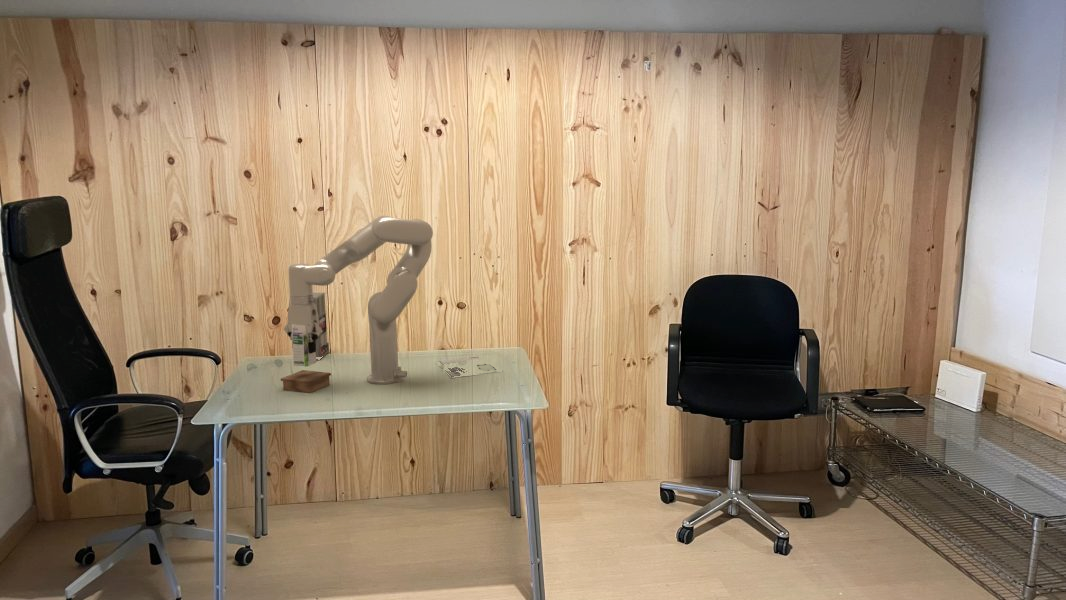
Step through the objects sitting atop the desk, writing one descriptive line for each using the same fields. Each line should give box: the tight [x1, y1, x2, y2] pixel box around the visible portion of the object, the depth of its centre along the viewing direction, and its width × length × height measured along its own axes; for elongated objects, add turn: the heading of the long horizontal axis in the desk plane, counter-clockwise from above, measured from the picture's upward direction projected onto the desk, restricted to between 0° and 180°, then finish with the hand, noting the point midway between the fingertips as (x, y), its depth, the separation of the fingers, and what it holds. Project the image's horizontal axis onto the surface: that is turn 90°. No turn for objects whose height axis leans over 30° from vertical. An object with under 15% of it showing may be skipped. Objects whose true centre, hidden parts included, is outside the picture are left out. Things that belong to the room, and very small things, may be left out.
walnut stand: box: [280, 369, 332, 393], centre depth 268 cm, size 12×12×4 cm
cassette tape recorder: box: [313, 292, 330, 357], centre depth 311 cm, size 14×6×25 cm, turn 0°
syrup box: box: [291, 324, 317, 367], centre depth 266 cm, size 6×6×14 cm
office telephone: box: [438, 356, 481, 377], centre depth 292 cm, size 23×3×20 cm
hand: (304, 351), depth 266 cm, fingers closed on syrup box, 5 cm apart
